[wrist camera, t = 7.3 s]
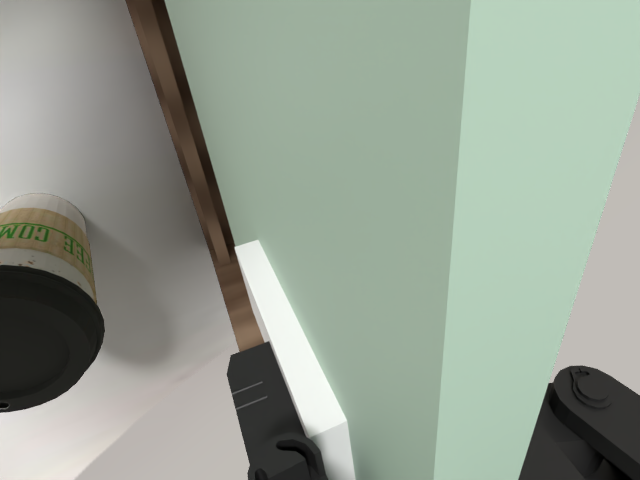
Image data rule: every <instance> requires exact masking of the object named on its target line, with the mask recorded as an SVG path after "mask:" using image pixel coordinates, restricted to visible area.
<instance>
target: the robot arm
mask: <svg viewBox="0 0 640 480" xmlns="http://www.w3.org/2000/svg"><path fill="white" fill-rule="evenodd" d="M234 248H235V251H236V255H237V258H238V262H239V265H240V268H241V272H242V275H243V279H244V282H245V286H246V289H247V293H248V296H249V299H250V303H251V306H252V310H253V313H254V315H255V318H256V321H257V323H258V326H259V329H260V331H261V334H262V337H263V339H264V342H265V343H262V344H260V345H257V346H254V347H252V348H249V349H246V350H244V351H241V352H238V353H236V354H233V355H231V357H230V362H229V367H228V372H227V377H228V381H229V385H230V389H231V392H232V396H233V400H234V404H235V408H236V411H237V416H238V420H239V424H240V428H241V432H242V436H243V439H244V444H245V447H246V451H247V455H248V459H249V463H250V467H249V470H248V480H355V473H354V466H353V459H352V451H351V444H350V437H349V430H348V423H347V420H346V418H345V416H344V413H343V411H342V409H341V407H340V405H339V403H338V401H337V399H336V397H335V395H334V393H333V391H332V389H331V387H330V385H329V383H328V381H327V379H326V377H325V375H324V373H323V371H322V369H321V367H320V365H319V362H318V360H317V358H316V356H315V354H314V352H313V350H312V348H311V346H310V344H309V342H308V340H307V338H306V336H305V334H304V332H303V330H302V328H301V326H300V324H299V322H298V320H297V318H296V316H295V314H294V312H293V309H292V307H291V305H290V303H289V301H288V299H287V297H286V295H285V293H284V291H283V289H282V287H281V285H280V283H279V281H278V279H277V277H276V275H275V273H274V271H273V269H272V267H271V265H270V263H269V261H268V258H267V256H266V254H265V252H264V250H263V248H262V246H261V244H260V242H259V240H255V241H252V242H249V243H246V244H242V245H239V246H236V247H234ZM518 480H640V395H638V394H636V393H635V392H634V391H632V390H631V389H629V388H628V387H626V386H624V385H623V384H622V383H620V382H618V381H617V380H616V379H614V378H613V377H611V376H609V375H608V374H606V373H604V372H602V371H600V370H598V369H594V368H591V367H586V366H569V367H567V368H565V369H562V370H560V372H559V373H558V374H557V376H556V377H555V379H554V382H553V383H548V386H547V390H546V393H545V396H544V399H543V402H542V405H541V409H540V412H539V415H538V418H537V421H536V424H535V428H534V431H533V434H532V437H531V440H530V444H529V447H528V450H527V453H526V456H525V459H524V463H523V466H522V469H521V472H520V475H519V478H518Z"/></svg>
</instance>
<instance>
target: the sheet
mask: <svg viewBox="0 0 640 480" xmlns="http://www.w3.org/2000/svg"><path fill="white" fill-rule="evenodd" d="M164 1H165V4H166V7H167V11H168V14H169V18H170V21H171V25H172V28H173V32H174V35H175V39H176V42H177V46H178V49H179V52H180V56H181V59H182V63H183V66H184V70H185V73H186V77H187V80H188V84H189V87H190V91H191V94H192V98H193V101H194V104H195V108H196V111H197V115H198V118H199V122H200V125H201V129H202V132H203V136H204V139H205V143H206V146H207V149H208V153H209V156H210V160H211V163H212V167H213V170H214V174H215V177H216V181H217V184H218V188H219V191H220V194H221V198H222V201H223V205H224V208H225V212H226V215H227V219H228V222H229V226H230V229H231V233H232V236H233V239H234V243H235V246H239V245H242V244H246V243H249V242H252V241H255V240H259V242H260V244H261V246H262V248H263V250H264V252H265V254H266V256H267V258H268V261H269V263H270V265H271V267H272V269H273V271H274V273H275V275H276V277H277V279H278V281H279V283H280V285H281V287H282V289H283V291H284V293H285V295H286V297H287V299H288V301H289V303H290V305H291V307H292V309H293V312H294V314H295V316H296V318H297V320H298V322H299V324H300V326H301V328H302V330H303V332H304V334H305V336H306V338H307V340H308V342H309V344H310V346H311V348H312V350H313V352H314V354H315V356H316V358H317V360H318V362H319V365H320V367H321V369H322V371H323V373H324V375H325V377H326V379H327V381H328V383H329V385H330V387H331V389H332V391H333V393H334V395H335V397H336V399H337V401H338V403H339V405H340V407H341V409H342V411H343V413H344V416H345V418H346V420H347V423H348V430H349V437H350V444H351V451H352V459H353V466H354V473H355V480H518V478H519V475H520V472H521V469H522V466H523V463H524V459H525V456H526V453H527V450H528V447H529V444H530V440H531V437H532V434H533V431H534V428H535V424H536V421H537V418H538V415H539V412H540V409H541V405H542V402H543V399H544V396H545V393H546V390H547V386H548V383H549V380H550V377H551V374H552V371H553V367H554V364H555V361H556V358H557V355H558V351H559V348H560V345H561V342H562V339H563V336H564V332H565V329H566V326H567V323H568V320H569V317H570V313H571V310H572V307H573V304H574V301H575V297H576V295H577V291H578V288H579V285H580V281H581V278H582V276H583V272H584V269H585V266H586V263H587V260H588V256H589V253H590V250H591V247H592V244H593V241H594V237H595V234H596V231H597V228H598V225H599V222H600V218H601V215H602V212H603V209H604V206H605V203H606V199H607V196H608V193H609V190H610V187H611V184H612V180H613V177H614V174H615V171H616V168H617V165H618V161H619V158H620V155H621V152H622V149H623V146H624V142H625V139H626V136H627V133H628V130H629V126H630V123H631V120H632V117H633V114H634V111H635V107H636V104H637V101H638V98H639V95H640V0H164Z"/></svg>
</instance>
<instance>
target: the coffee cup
mask: <svg viewBox="0 0 640 480" xmlns="http://www.w3.org/2000/svg"><path fill="white" fill-rule="evenodd" d="M104 332H105V329H104V320H103V317H102V314H101V312H100V309H99V307H98V306H97V300H96V291H95V284H94V276H93V268H92V260H91V252H90V244H89V242H88V239H87V234H86V225H85V221H84V218H83V216H82V215H81V213H80V212H79V210H78V209H77V208H76V207H75V206H74V205H72V204H71V203H69V202H68V201H66V200H64V199H62V198H60V197H57V196H54V195H50V194H43V193H32V194H26V195H22V196H19V197H16V198H14V199H13V200H11V201H9V202H8V203H7V204H6V205H5V206H4V207H3V208H2V209H1V210H0V413H1V412H12V411H18V410H23V409H28V408H31V407H34V406H38V405H41V404H43V403H46V402H48V401H50V400H53V399H55V398H57V397H58V396H60V395H61V394H63V393H65V392H66V391H68V390H69V389H70V388H71V387H72V386H73V385H75V384H76V383H77V382H78V380H79V379H80V378H81V377H82V375H83V374H84V372H85V371H86V370H87V369H88V368H89V367H90V365H91V364H92V363H93V361H94V360H95V359H96V357H97V354H98V352H99V350H100V348H101V345H102V343H103V337H104Z"/></svg>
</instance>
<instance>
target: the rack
mask: <svg viewBox="0 0 640 480" xmlns="http://www.w3.org/2000/svg"><path fill="white" fill-rule="evenodd" d="M126 3H127V6H128V9H129V12H130V15H131V18H132V21H133V24H134V27H135V30H136V33H137V36H138V39H139V42H140V45H141V48H142V51H143V54H144V57H145V60H146V63H147V66H148V69H149V72H150V75H151V78H152V81H153V84H154V87H155V90H156V93H157V96H158V99H159V102H160V105H161V108H162V111H163V114H164V117H165V120H166V123H167V126H168V129H169V131H170V134H171V137H172V140H173V143H174V146H175V149H176V152H177V155H178V158H179V161H180V164H181V167H182V170H183V173H184V176H185V179H186V182H187V185H188V188H189V191H190V194H191V197H192V200H193V203H194V206H195V209H196V212H197V215H198V218H199V221H200V224H201V227H202V230H203V233H204V236H205V239H206V242H207V245H208V248H209V251H210V254H211V257H212V261H213V264H214V267H215V271H216V274H217V277H218V281H219V284H220V287H221V291H222V294H223V297H224V301H225V304H226V307H227V311H228V314H229V317H230V321H231V324H232V327H233V331H234V334H235V337H236V341H237V344H238V347H239V351H240V352H241V351H244V350H246V349H249V348H252V347H254V346H257V345H260V344H262V343H265V342H264V339H263V337H262V334H261V331H260V329H259V326H258V323H257V321H256V318H255V315H254V313H253V310H252V306H251V303H250V299H249V296H248V293H247V289H246V286H245V282H244V279H243V275H242V272H241V268H240V265H239V262H238V258H237V255H236V251H235V248H234V247H236V246H235V243H234V239H233V236H232V233H231V229H230V226H229V222H228V219H227V215H226V212H225V208H224V205H223V201H222V198H221V194H220V191H219V188H218V184H217V181H216V177H215V174H214V170H213V167H212V163H211V160H210V156H209V153H208V149H207V146H206V143H205V139H204V136H203V132H202V129H201V125H200V122H199V118H198V115H197V111H196V108H195V104H194V101H193V98H192V94H191V91H190V87H189V84H188V80H187V77H186V73H185V70H184V66H183V63H182V59H181V56H180V52H179V49H178V46H177V42H176V39H175V35H174V32H173V28H172V25H171V21H170V18H169V14H168V11H167V7H166V4H165V1H164V0H126Z"/></svg>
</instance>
